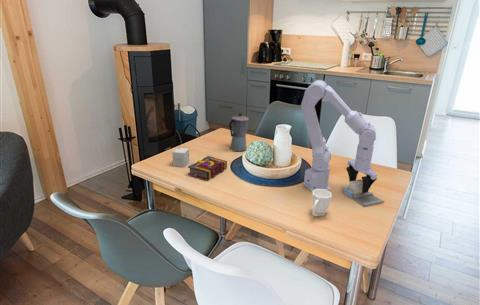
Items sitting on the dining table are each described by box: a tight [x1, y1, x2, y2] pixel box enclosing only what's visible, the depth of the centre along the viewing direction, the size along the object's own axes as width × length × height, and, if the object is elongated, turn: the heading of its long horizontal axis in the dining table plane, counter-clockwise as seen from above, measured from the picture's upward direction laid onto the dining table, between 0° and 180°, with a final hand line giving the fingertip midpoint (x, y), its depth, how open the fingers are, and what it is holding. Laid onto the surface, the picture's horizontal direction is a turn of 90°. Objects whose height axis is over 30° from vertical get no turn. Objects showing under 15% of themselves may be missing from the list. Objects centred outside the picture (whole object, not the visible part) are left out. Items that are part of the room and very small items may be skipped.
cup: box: [312, 189, 333, 217], centre depth 114 cm, size 7×10×8 cm
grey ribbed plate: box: [341, 186, 385, 208], centre depth 127 cm, size 10×13×3 cm
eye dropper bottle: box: [322, 136, 329, 151], centre depth 161 cm, size 4×6×12 cm
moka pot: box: [228, 112, 250, 152], centre depth 171 cm, size 10×15×20 cm, turn 148°
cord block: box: [348, 178, 369, 196], centre depth 129 cm, size 7×4×5 cm, turn 110°
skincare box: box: [171, 147, 191, 168], centre depth 154 cm, size 6×6×7 cm
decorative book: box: [187, 155, 228, 181], centre depth 146 cm, size 11×16×5 cm
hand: (358, 187), depth 129 cm, fingers open, 7 cm apart
